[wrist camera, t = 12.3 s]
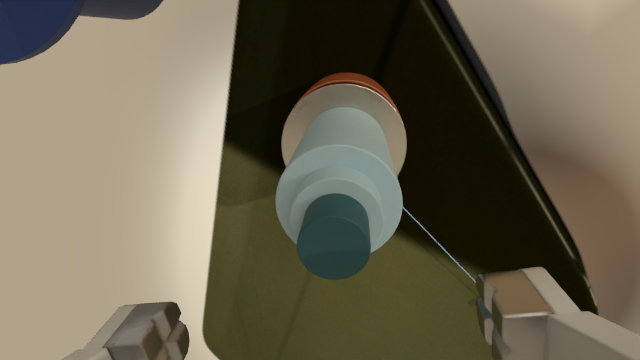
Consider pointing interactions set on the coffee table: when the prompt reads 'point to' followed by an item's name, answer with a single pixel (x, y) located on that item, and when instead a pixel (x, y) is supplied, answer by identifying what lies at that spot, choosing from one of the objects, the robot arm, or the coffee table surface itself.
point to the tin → (346, 93)
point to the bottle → (339, 193)
